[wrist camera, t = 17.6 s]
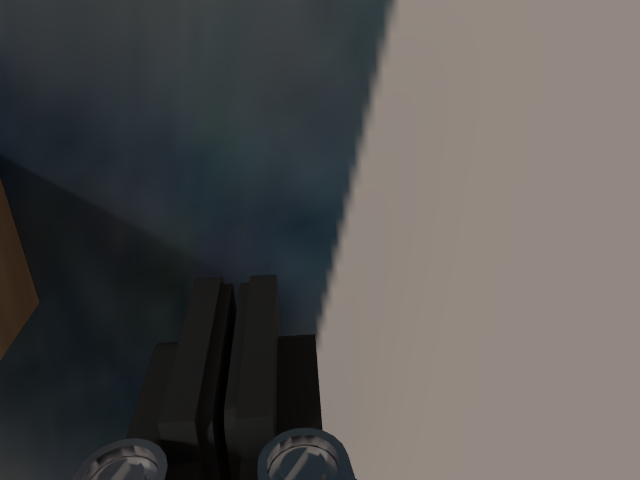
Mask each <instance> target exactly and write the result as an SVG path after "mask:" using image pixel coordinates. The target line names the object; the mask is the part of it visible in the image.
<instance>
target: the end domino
mask: <svg viewBox="0 0 640 480" xmlns="http://www.w3.org/2000/svg"><path fill="white" fill-rule="evenodd" d="M38 304H39V299H38V296H37V293H36V290H35V287H34V283H33V280H32V277H31V274H30V271H29V268H28V264H27V261H26V258H25V255H24V252H23V248H22V245H21V242H20V239H19V236H18V232H17V229H16V226H15V223H14V220H13V216H12V213H11V210H10V207H9V204H8V201H7V197H6V194H5V191H4V188H3V185H2V181H1V178H0V360H1V359H2V357H3V356H4V355H5V353H6V352H7V350H8V349H9V347H10V346H11V344H12V343H13V341H14V340H15V338H16V337H17V335H18V334H19V332H20V331H21V329H22V328H23V326H24V325H25V323H26V322H27V320H28V319H29V317H30V316H31V315H32V313H33V312H34V310H35V309H36V307H37V306H38Z"/></svg>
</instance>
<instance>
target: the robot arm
mask: <svg viewBox="0 0 640 480" xmlns="http://www.w3.org/2000/svg"><path fill="white" fill-rule="evenodd" d="M321 419H322V418H321V405H320V392H319V379H318V366H317V353H316V340H315V334H314V335H296V336H281V327H280V314H279V301H278V287H277V277H276V275H265V276H251V277H250V282H249V283H242V284H240V289H239V297H238V305H237V310H236V302H235V293H234V287H233V284H224V281H223V278H208V279H196V280H195V282H194V286H193V289H192V293H191V297H190V301H189V305H188V309H187V312H186V316H185V320H184V324H183V328H182V331H181V335H180V339H179V342H172V343H159V344H157V345H156V347H155V349H154V352H153V355H152V359H151V362H150V365H149V368H148V371H147V374H146V377H145V381H144V384H143V387H142V390H141V393H140V396H139V400H138V403H137V406H136V409H135V412H134V415H133V418H132V422H131V425H130V428H129V431H128V434H127V437H126V439H123V440H119V441H116V442H113V443H109V444H108V445H106V446H104V447H102V448H100V449H98V450H96V451H95V452H94V453H93V454H91V455H90V456H89V457H88V458H86V459H85V460H84V461H83V463H82V464H81V465H80V467H79V468H78V469H77V471H76V472H75V474H74V475H73V477H72V479H71V480H357V479H355V476H354V473H353V470H352V467H351V463H350V460H349V457H348V454H347V452H346V450H345V448H344V446H343V444H342V443H341V442H340V441H338V440H337V439H336V438H335V437H334V436H333V435H331V434H329V433H327V432H325V431H323V430H322V420H321Z"/></svg>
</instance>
